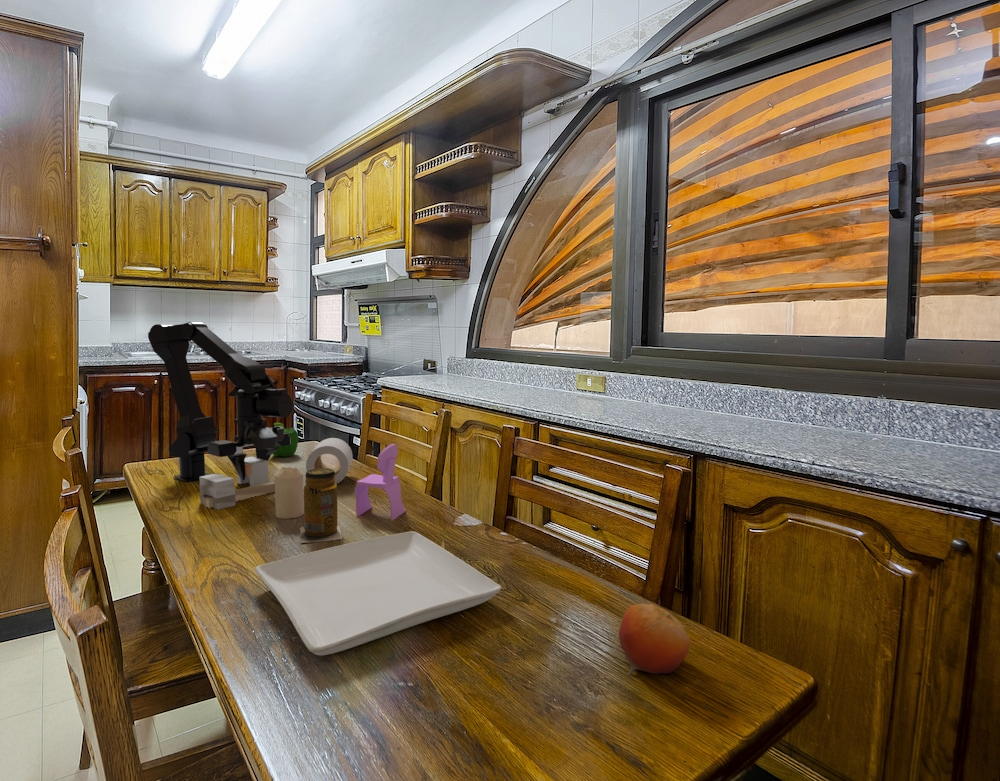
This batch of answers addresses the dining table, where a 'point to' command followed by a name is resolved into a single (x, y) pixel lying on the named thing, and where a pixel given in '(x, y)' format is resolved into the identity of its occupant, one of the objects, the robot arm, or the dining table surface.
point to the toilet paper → (334, 448)
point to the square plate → (372, 589)
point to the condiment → (320, 507)
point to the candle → (289, 493)
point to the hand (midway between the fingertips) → (252, 478)
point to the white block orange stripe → (255, 471)
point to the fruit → (652, 639)
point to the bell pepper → (287, 449)
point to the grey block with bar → (246, 493)
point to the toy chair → (381, 484)
